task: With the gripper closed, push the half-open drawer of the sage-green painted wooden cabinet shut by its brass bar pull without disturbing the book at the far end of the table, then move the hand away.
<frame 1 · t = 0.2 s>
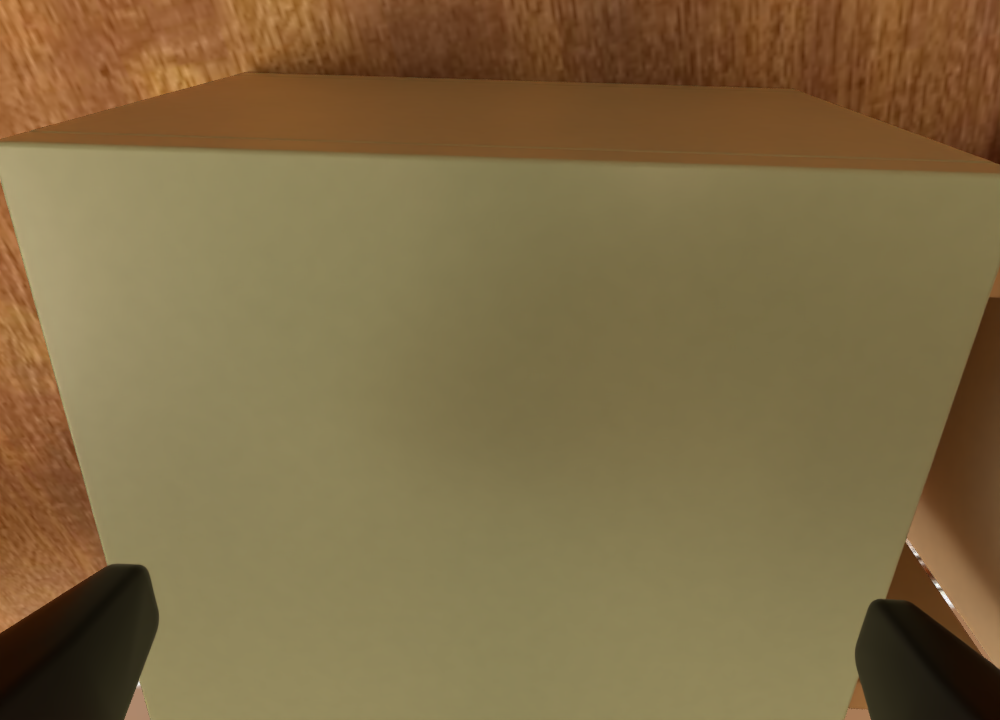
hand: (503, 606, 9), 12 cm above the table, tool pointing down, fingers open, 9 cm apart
drawer: (898, 415, 16), point 5 cm above the table, slide at 5.0 cm
cabinet: (508, 315, 21), on the table
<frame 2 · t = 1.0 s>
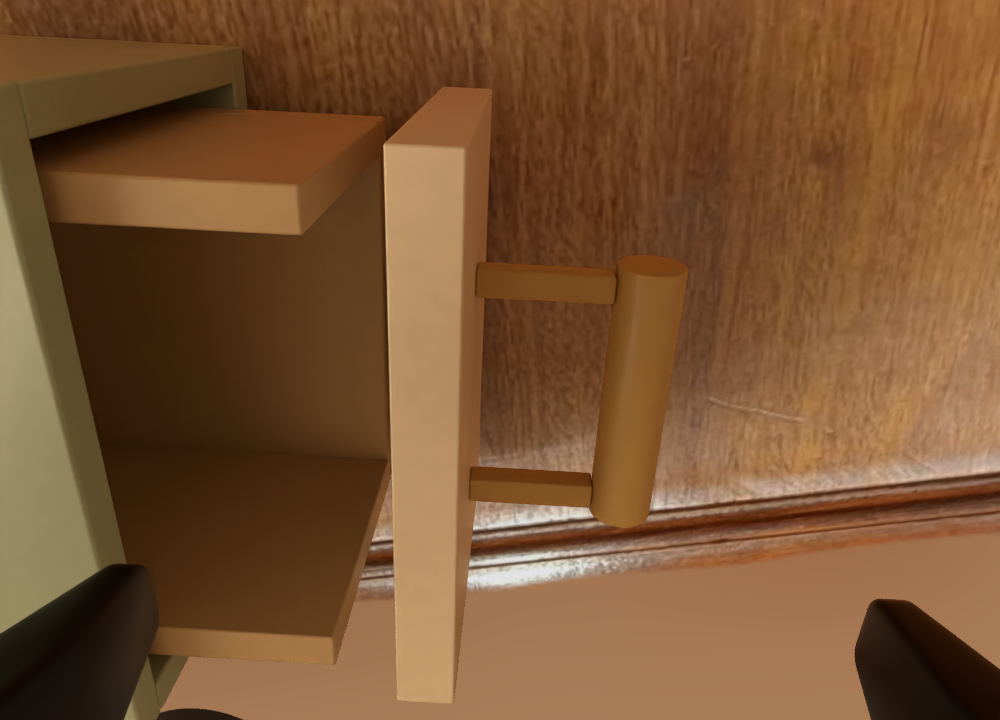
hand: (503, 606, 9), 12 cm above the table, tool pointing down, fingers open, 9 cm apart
drawer: (289, 367, 16), point 5 cm above the table, slide at 5.0 cm
cabinet: (28, 275, 21), on the table
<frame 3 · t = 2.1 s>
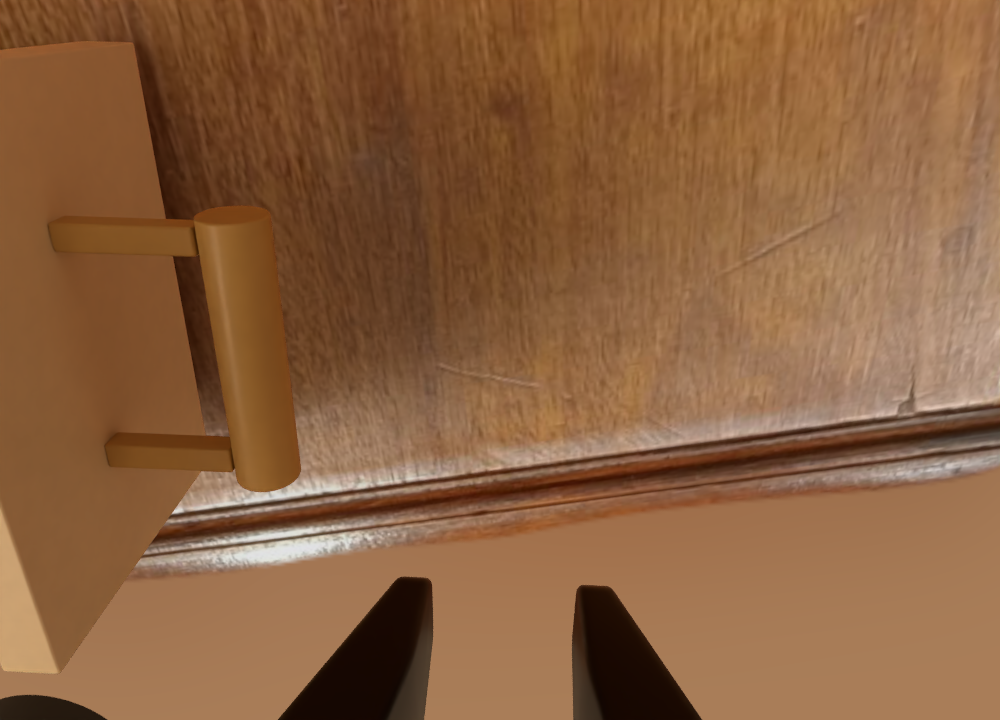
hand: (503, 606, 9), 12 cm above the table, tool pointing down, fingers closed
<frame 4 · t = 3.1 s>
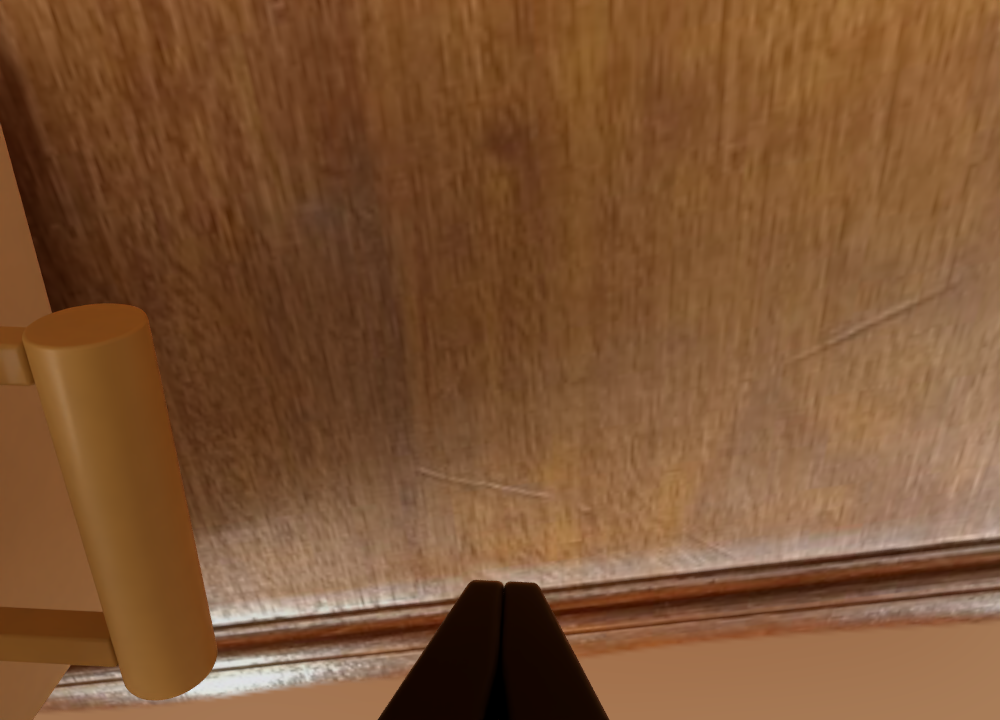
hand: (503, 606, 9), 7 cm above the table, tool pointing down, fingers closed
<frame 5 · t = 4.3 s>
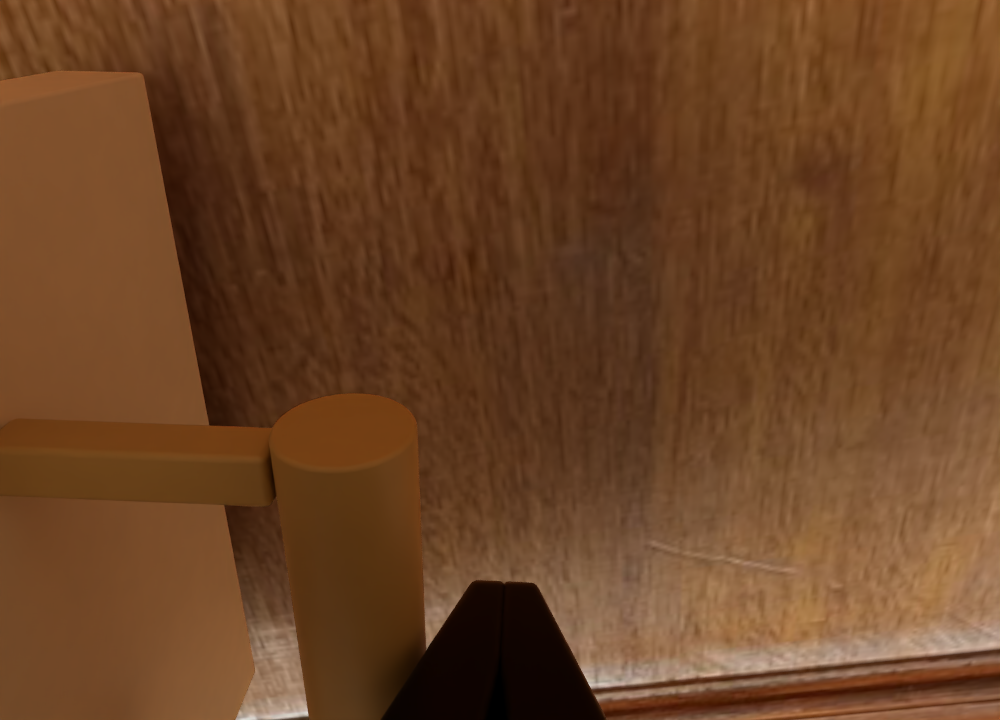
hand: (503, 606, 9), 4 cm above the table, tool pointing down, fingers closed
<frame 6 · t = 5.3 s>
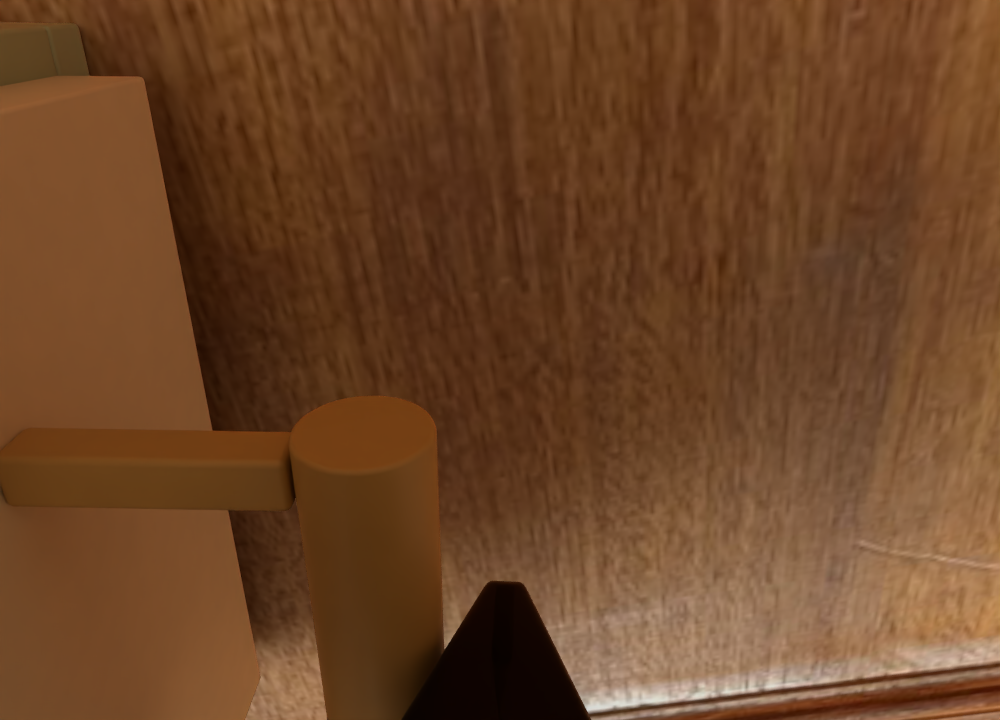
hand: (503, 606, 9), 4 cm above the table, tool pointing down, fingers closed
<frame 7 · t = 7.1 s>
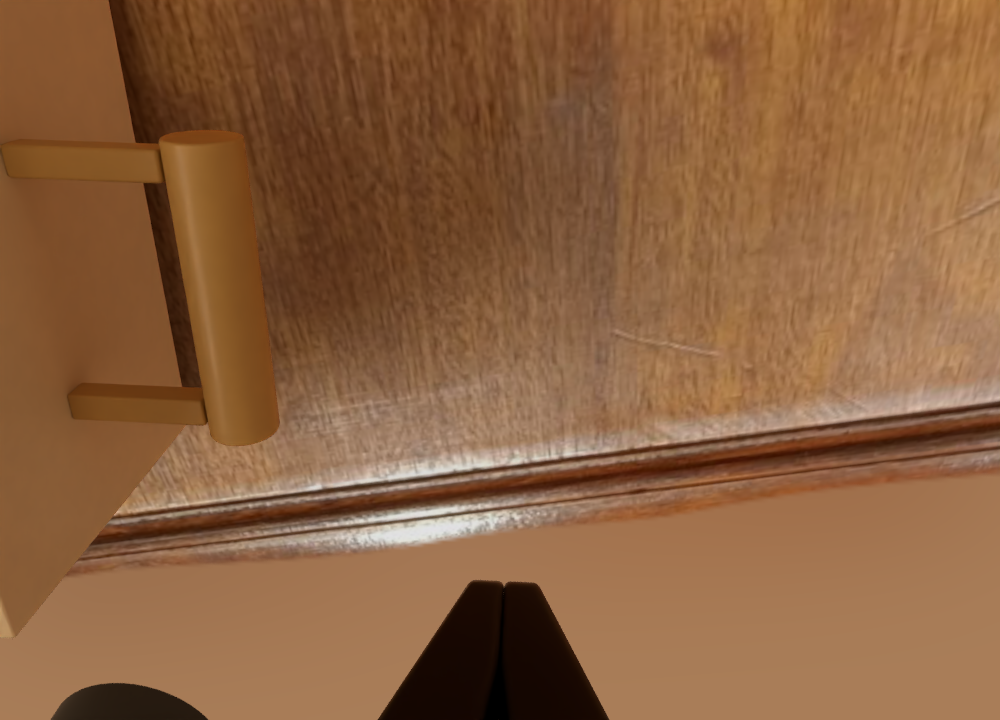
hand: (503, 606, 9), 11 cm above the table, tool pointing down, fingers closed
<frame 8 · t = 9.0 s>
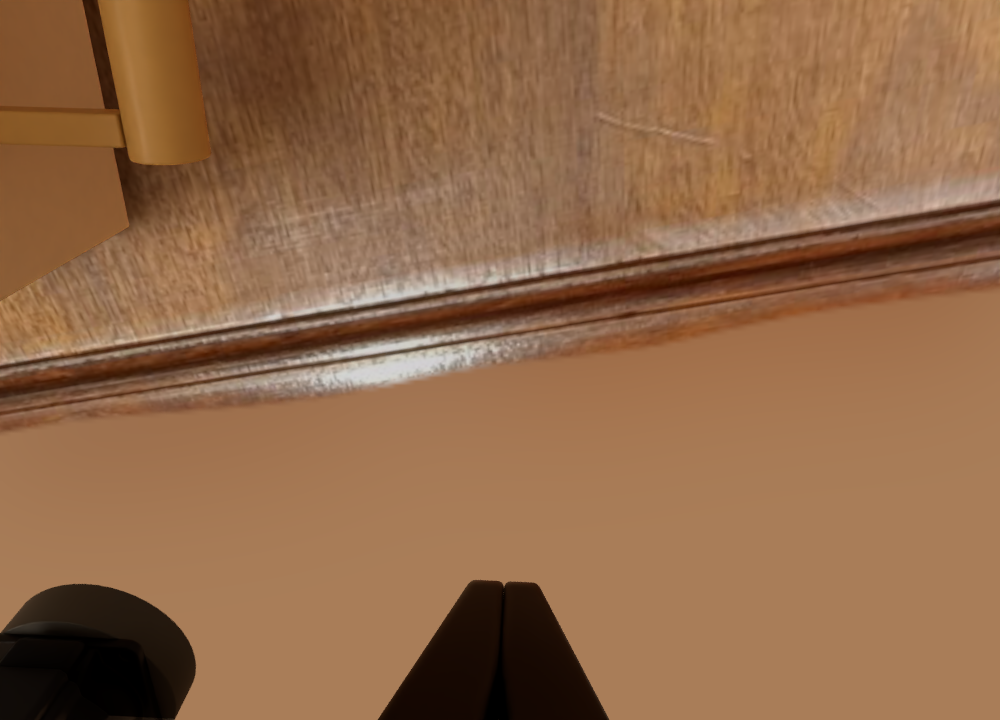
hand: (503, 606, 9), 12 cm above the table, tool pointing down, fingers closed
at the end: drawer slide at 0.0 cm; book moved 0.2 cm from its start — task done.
